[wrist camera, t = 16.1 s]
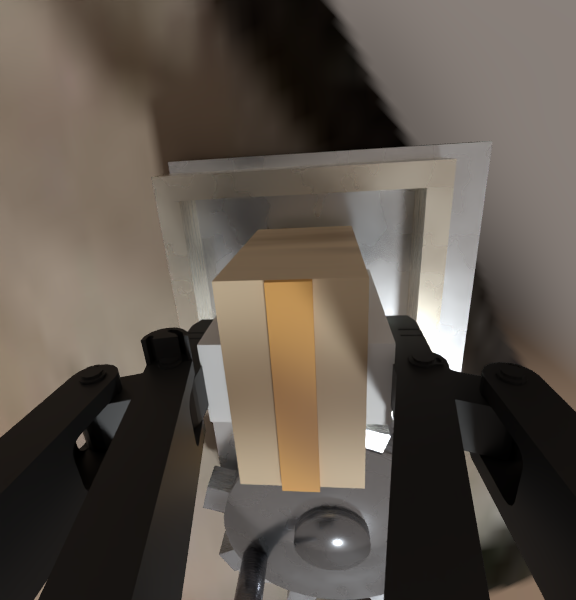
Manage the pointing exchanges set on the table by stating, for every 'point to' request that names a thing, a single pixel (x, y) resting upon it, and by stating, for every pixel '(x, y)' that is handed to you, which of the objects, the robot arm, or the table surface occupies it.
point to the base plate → (336, 212)
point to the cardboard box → (296, 357)
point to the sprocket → (308, 531)
